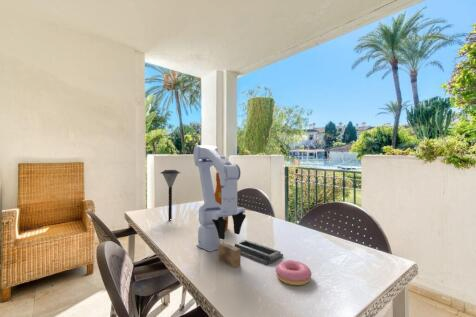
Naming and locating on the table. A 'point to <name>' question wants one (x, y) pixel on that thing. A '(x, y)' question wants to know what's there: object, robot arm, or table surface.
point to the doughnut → (293, 272)
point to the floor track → (258, 252)
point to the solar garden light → (170, 185)
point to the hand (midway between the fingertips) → (229, 236)
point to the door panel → (229, 254)
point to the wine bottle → (219, 195)
